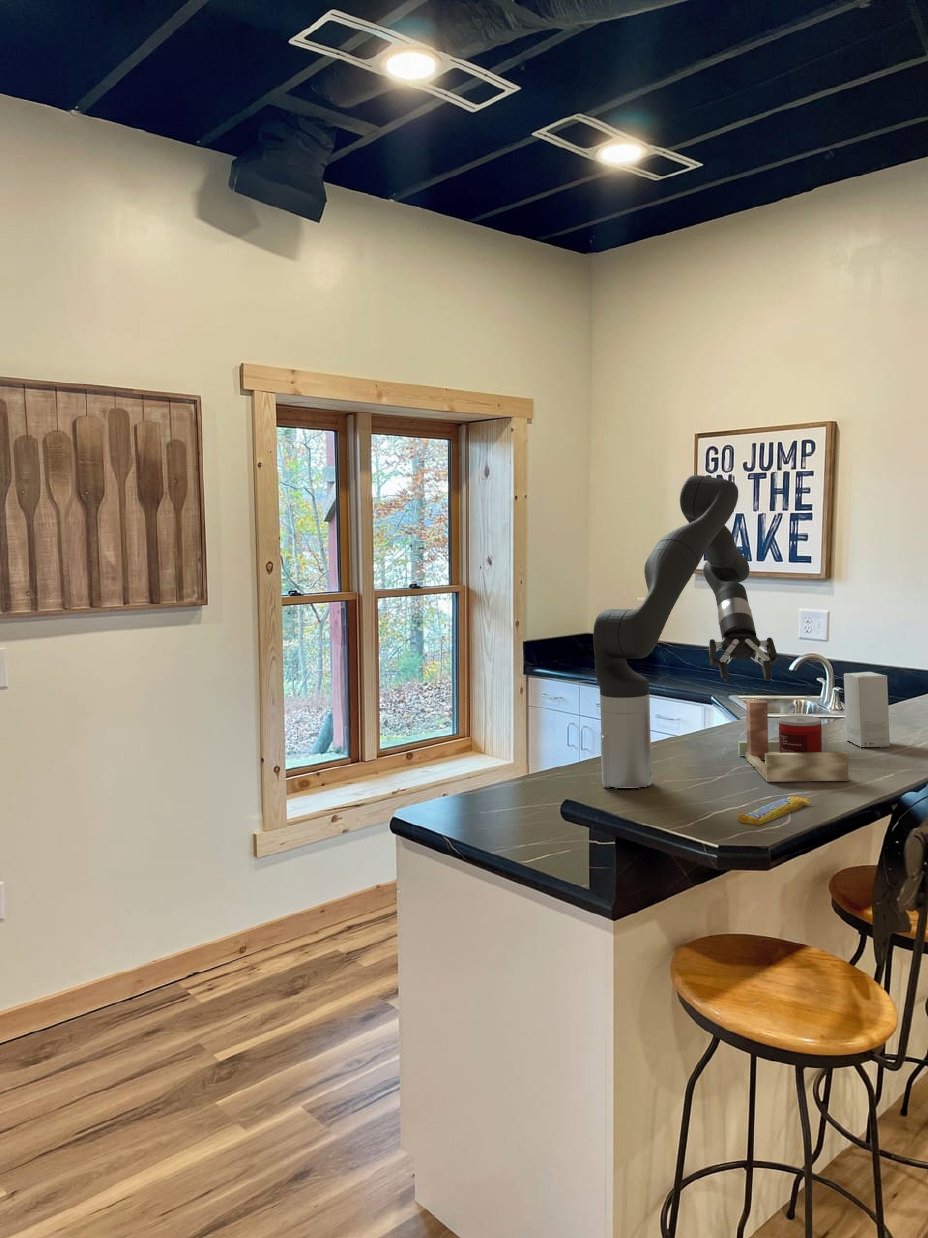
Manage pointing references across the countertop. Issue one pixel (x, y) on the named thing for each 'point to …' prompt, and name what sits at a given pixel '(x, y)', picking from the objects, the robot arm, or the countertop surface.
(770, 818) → the candy bar
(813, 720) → the canned food
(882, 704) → the skincare box
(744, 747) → the stop rail
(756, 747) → the shallow wooden tray
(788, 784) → the countertop surface
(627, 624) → the robot arm
